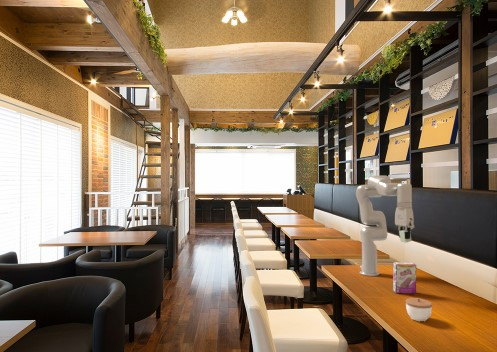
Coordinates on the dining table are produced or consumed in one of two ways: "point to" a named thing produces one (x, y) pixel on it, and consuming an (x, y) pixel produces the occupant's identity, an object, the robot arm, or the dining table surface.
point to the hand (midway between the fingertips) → (404, 237)
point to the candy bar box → (404, 278)
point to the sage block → (402, 236)
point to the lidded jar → (418, 308)
